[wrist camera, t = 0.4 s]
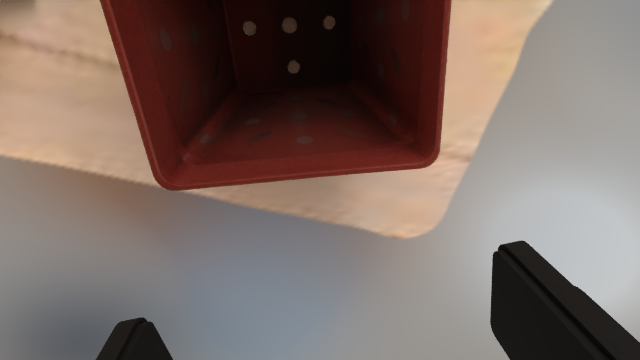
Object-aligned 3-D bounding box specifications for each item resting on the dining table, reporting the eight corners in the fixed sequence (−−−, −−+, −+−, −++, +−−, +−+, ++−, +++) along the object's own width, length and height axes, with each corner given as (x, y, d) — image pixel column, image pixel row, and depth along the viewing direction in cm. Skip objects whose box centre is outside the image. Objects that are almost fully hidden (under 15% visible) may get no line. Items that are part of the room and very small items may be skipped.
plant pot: (211, 126, 38) (155, 194, 22) (167, -85, 30) (34, -205, 14) (380, 112, 38) (439, 168, 23) (382, -98, 30) (473, -225, 15)
